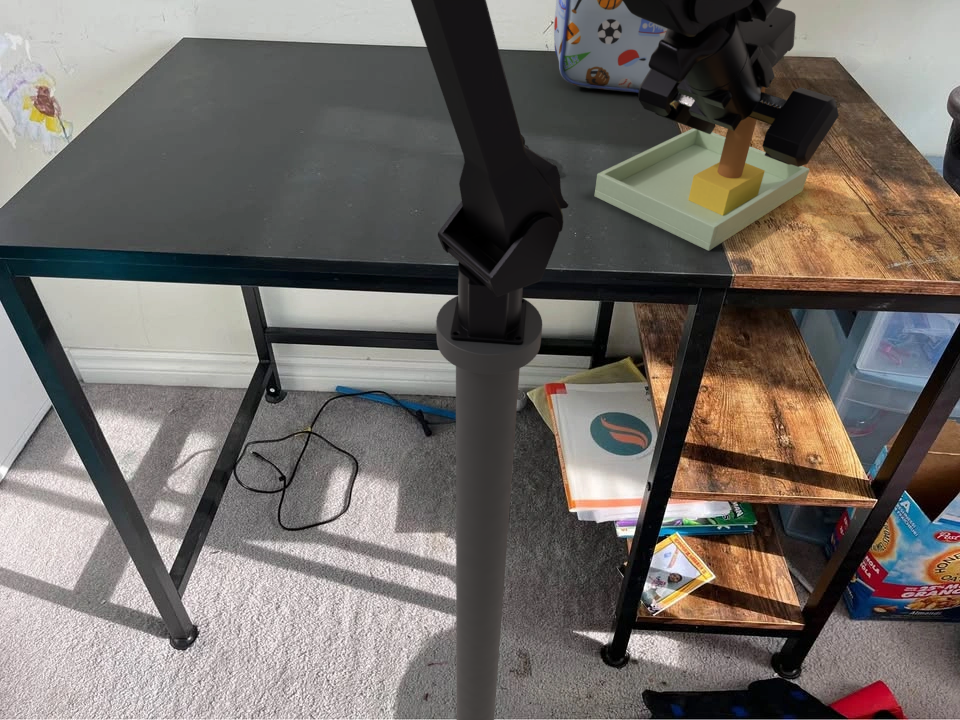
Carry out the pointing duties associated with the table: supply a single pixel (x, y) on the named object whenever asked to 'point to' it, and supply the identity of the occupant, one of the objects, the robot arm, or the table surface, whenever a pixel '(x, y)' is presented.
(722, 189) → the sponge wand
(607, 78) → the lunch box
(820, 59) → the table surface
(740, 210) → the tray
